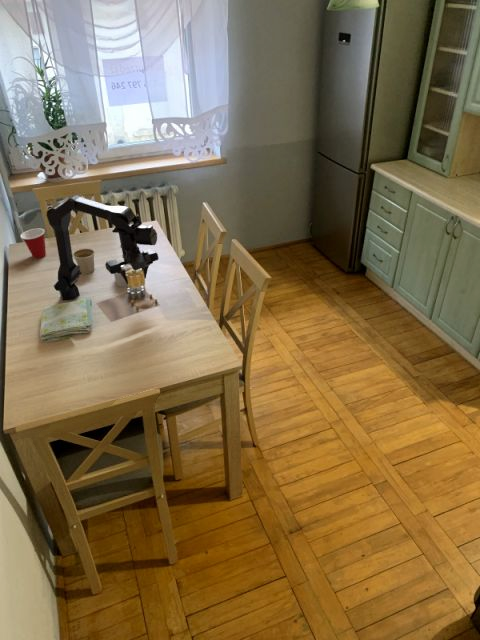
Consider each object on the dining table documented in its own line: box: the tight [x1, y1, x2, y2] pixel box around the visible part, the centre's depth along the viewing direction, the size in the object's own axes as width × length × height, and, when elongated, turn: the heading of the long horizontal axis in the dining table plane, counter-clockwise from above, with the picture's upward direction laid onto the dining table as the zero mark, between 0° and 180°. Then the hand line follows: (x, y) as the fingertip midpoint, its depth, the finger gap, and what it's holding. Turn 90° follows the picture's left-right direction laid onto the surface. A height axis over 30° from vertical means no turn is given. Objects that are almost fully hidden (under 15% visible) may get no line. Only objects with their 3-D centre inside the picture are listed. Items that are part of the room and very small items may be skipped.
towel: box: [39, 297, 93, 343], centre depth 172 cm, size 18×21×5 cm
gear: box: [126, 286, 146, 299], centre depth 186 cm, size 7×7×4 cm
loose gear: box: [126, 269, 146, 288], centre depth 175 cm, size 7×7×6 cm
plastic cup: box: [19, 227, 47, 260], centre depth 218 cm, size 11×11×12 cm
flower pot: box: [72, 247, 96, 274], centre depth 206 cm, size 9×9×9 cm
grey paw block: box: [113, 259, 133, 288], centre depth 197 cm, size 10×13×9 cm
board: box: [95, 289, 160, 323], centre depth 182 cm, size 20×16×3 cm
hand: (136, 281), depth 176 cm, fingers closed on loose gear, 7 cm apart
